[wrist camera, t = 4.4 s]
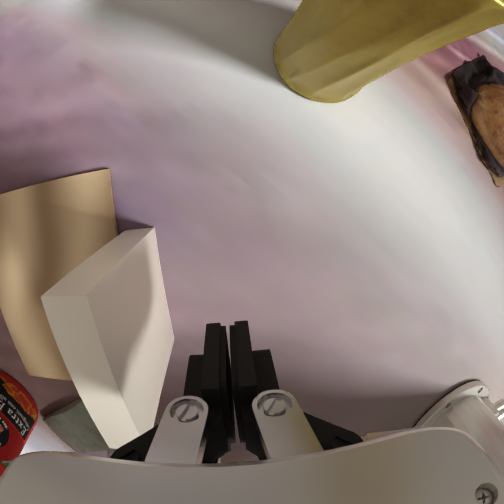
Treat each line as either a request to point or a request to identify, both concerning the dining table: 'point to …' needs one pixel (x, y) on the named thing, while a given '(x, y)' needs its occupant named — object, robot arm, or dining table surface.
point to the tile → (115, 333)
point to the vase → (369, 40)
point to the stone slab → (77, 428)
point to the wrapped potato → (482, 110)
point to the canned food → (14, 419)
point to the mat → (48, 256)
